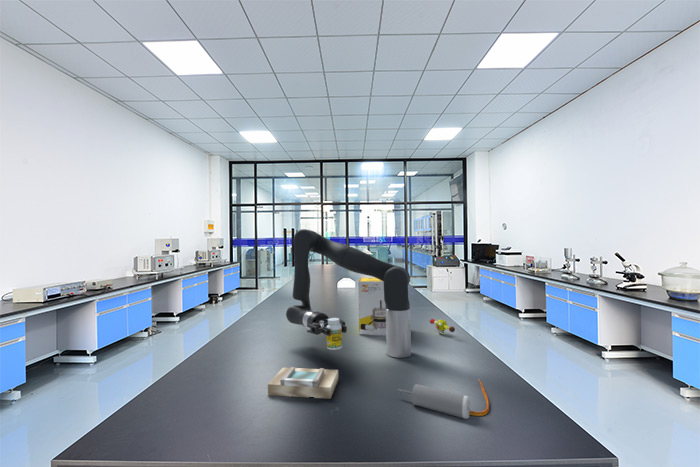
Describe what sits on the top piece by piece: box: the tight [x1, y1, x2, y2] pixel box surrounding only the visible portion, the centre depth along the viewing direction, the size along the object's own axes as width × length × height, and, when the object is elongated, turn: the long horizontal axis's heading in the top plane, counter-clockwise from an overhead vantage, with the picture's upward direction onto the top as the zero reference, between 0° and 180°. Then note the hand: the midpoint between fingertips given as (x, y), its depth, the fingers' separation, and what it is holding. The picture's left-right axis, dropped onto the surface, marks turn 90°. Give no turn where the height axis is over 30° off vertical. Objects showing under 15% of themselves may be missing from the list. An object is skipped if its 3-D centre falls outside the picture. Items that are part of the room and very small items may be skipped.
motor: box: [396, 378, 490, 420], centre depth 86 cm, size 23×22×5 cm
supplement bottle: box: [325, 317, 343, 351], centre depth 104 cm, size 5×5×10 cm
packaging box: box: [357, 277, 386, 336], centre depth 151 cm, size 16×16×25 cm
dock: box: [267, 366, 339, 400], centre depth 91 cm, size 18×12×4 cm
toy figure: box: [429, 318, 456, 336], centre depth 143 cm, size 18×6×7 cm, turn 17°
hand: (337, 331), depth 102 cm, fingers closed on supplement bottle, 5 cm apart
